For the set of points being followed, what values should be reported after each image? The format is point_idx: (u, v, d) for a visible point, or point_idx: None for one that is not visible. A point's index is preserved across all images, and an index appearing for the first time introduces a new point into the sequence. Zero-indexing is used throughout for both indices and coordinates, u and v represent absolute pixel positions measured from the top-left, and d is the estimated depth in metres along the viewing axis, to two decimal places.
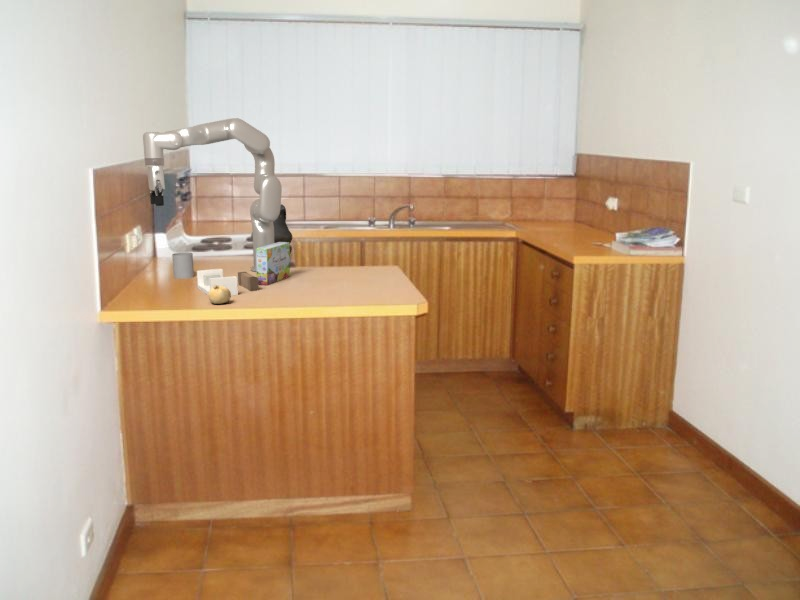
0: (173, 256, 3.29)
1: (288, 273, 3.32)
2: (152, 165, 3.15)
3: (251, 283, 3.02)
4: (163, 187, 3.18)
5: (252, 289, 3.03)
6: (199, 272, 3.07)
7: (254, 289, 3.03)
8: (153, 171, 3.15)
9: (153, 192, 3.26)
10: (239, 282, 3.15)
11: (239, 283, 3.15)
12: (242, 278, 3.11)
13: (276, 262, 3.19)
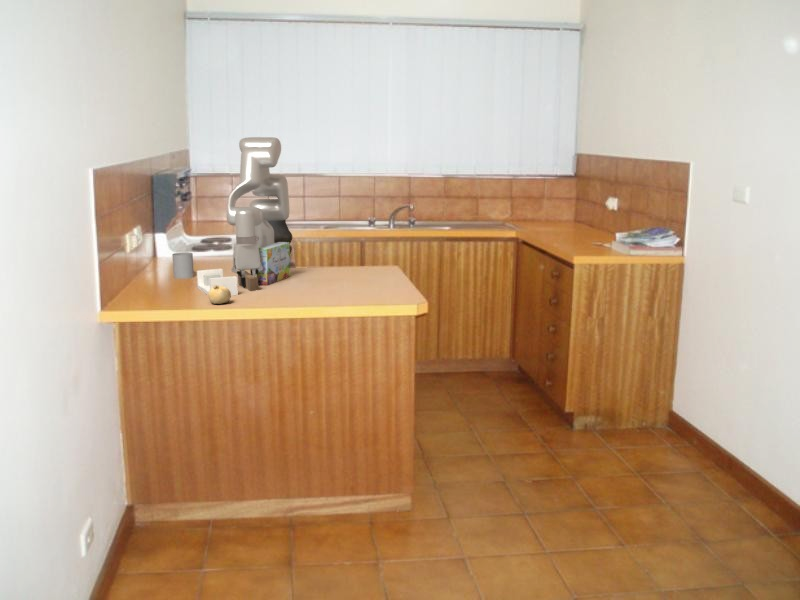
0: (173, 256, 3.29)
1: (288, 273, 3.32)
2: (255, 242, 3.07)
3: (251, 283, 3.02)
4: None
5: (252, 289, 3.03)
6: (199, 272, 3.07)
7: (254, 289, 3.03)
8: (258, 248, 3.08)
9: None
10: (239, 281, 3.15)
11: (239, 282, 3.15)
12: None
13: (276, 262, 3.19)
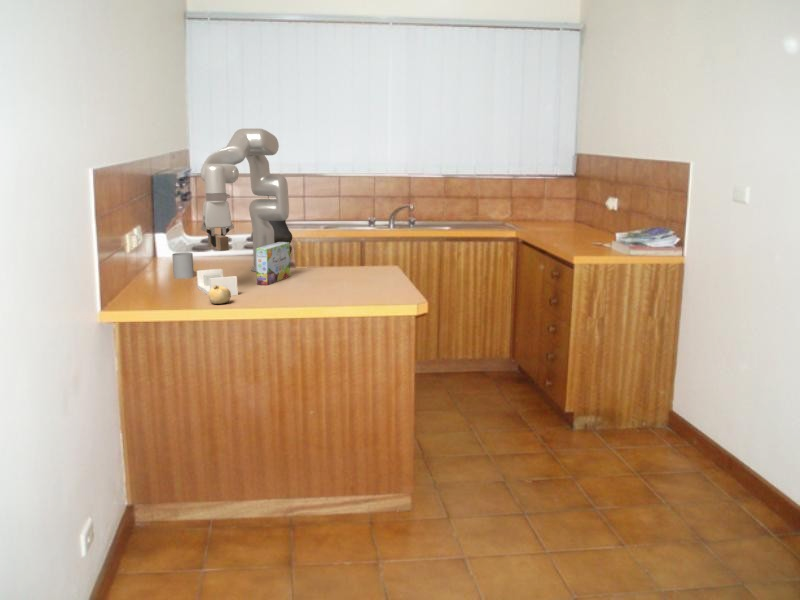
0: (173, 256, 3.29)
1: (288, 273, 3.32)
2: None
3: (221, 242, 2.92)
4: None
5: (222, 249, 2.92)
6: (199, 272, 3.07)
7: (224, 249, 2.93)
8: None
9: None
10: (209, 244, 3.04)
11: (209, 245, 3.04)
12: None
13: (276, 262, 3.19)
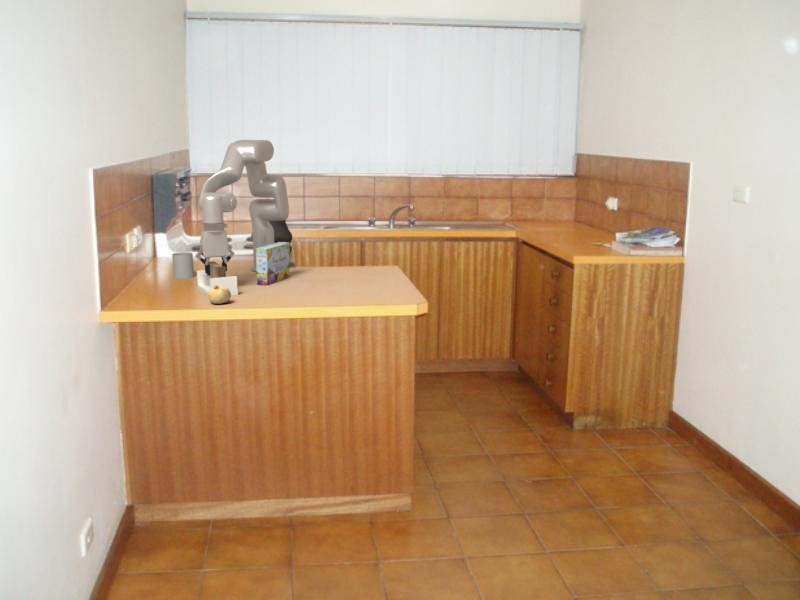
0: (173, 256, 3.29)
1: (288, 273, 3.32)
2: (223, 229, 2.98)
3: (219, 273, 2.93)
4: None
5: None
6: (199, 272, 3.07)
7: None
8: (226, 235, 2.99)
9: None
10: None
11: None
12: (210, 268, 3.02)
13: (276, 262, 3.19)
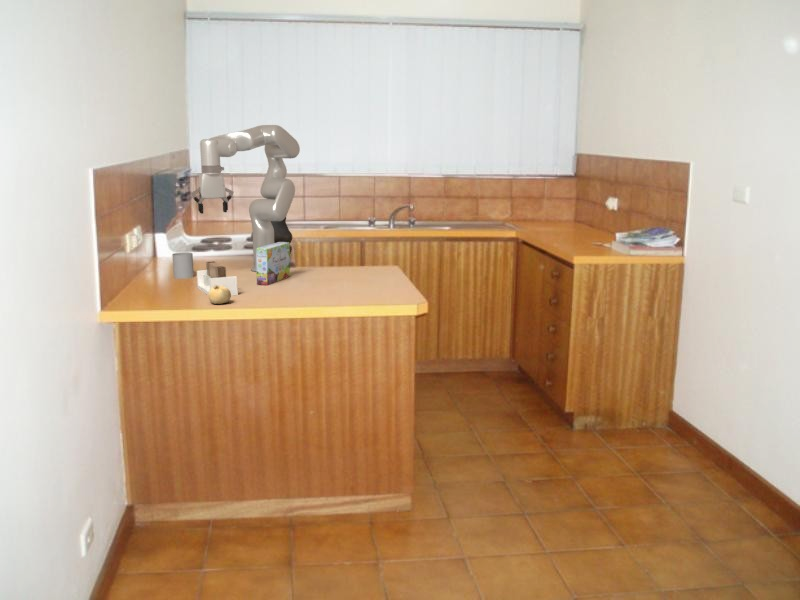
0: (173, 256, 3.29)
1: (288, 273, 3.32)
2: (220, 172, 3.15)
3: (219, 273, 2.93)
4: None
5: None
6: (199, 272, 3.07)
7: None
8: (223, 178, 3.16)
9: None
10: (207, 272, 3.06)
11: (207, 273, 3.06)
12: (210, 268, 3.02)
13: (276, 262, 3.19)
